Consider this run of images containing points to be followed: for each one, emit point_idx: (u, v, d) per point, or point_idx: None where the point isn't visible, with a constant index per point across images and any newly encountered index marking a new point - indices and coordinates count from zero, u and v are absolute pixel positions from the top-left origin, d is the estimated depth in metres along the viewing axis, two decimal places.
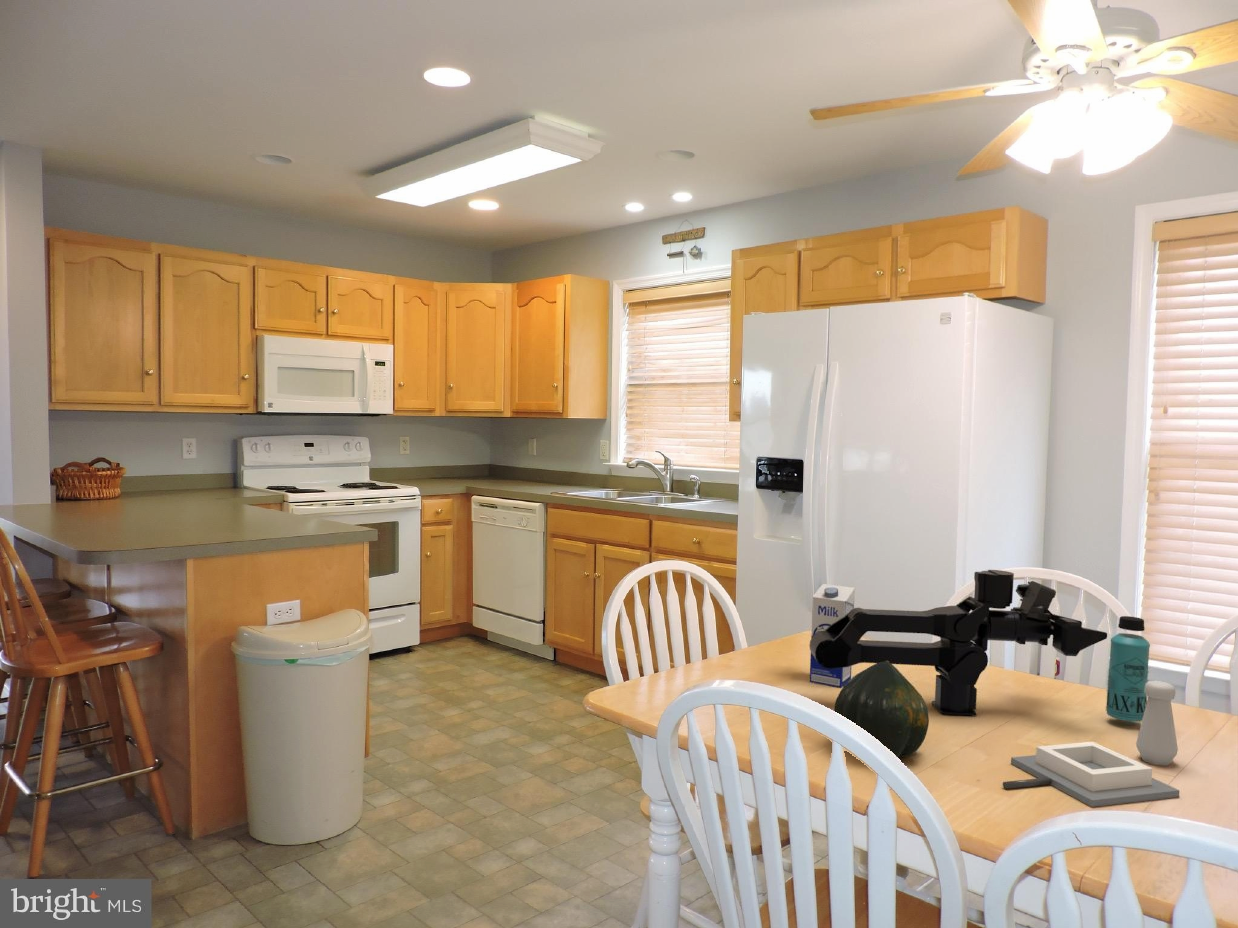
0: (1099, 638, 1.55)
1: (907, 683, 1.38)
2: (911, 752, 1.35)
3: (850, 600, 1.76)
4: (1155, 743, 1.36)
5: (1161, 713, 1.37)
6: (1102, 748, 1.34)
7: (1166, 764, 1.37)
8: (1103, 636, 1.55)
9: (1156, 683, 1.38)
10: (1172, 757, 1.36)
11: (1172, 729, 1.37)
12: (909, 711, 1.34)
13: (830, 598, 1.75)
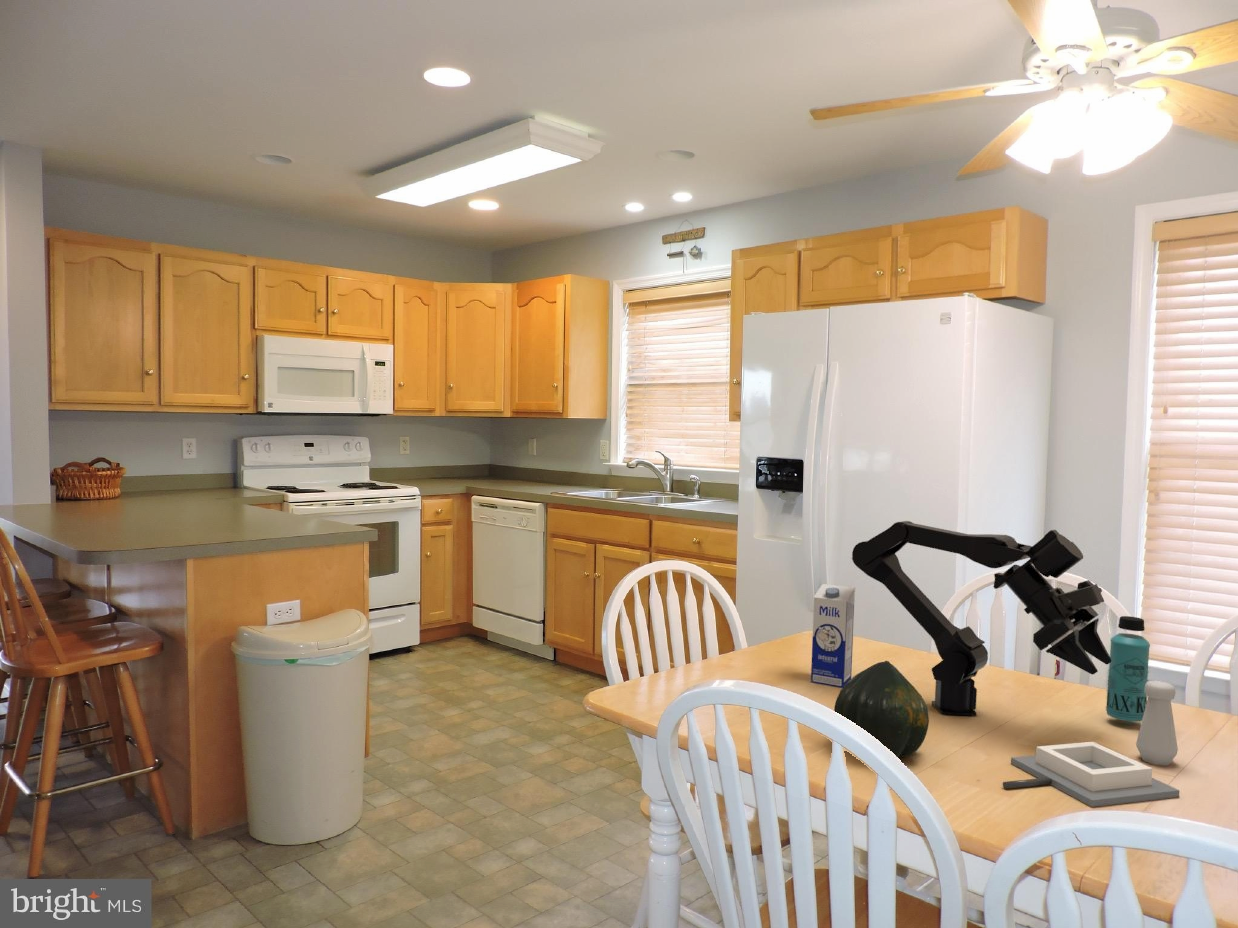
0: (1084, 667, 1.41)
1: (907, 683, 1.38)
2: (911, 752, 1.35)
3: (851, 600, 1.76)
4: (1155, 743, 1.36)
5: (1161, 713, 1.37)
6: (1102, 748, 1.34)
7: (1166, 764, 1.37)
8: (1090, 669, 1.41)
9: (1156, 683, 1.38)
10: (1172, 757, 1.36)
11: (1172, 729, 1.37)
12: (909, 711, 1.34)
13: (831, 598, 1.75)
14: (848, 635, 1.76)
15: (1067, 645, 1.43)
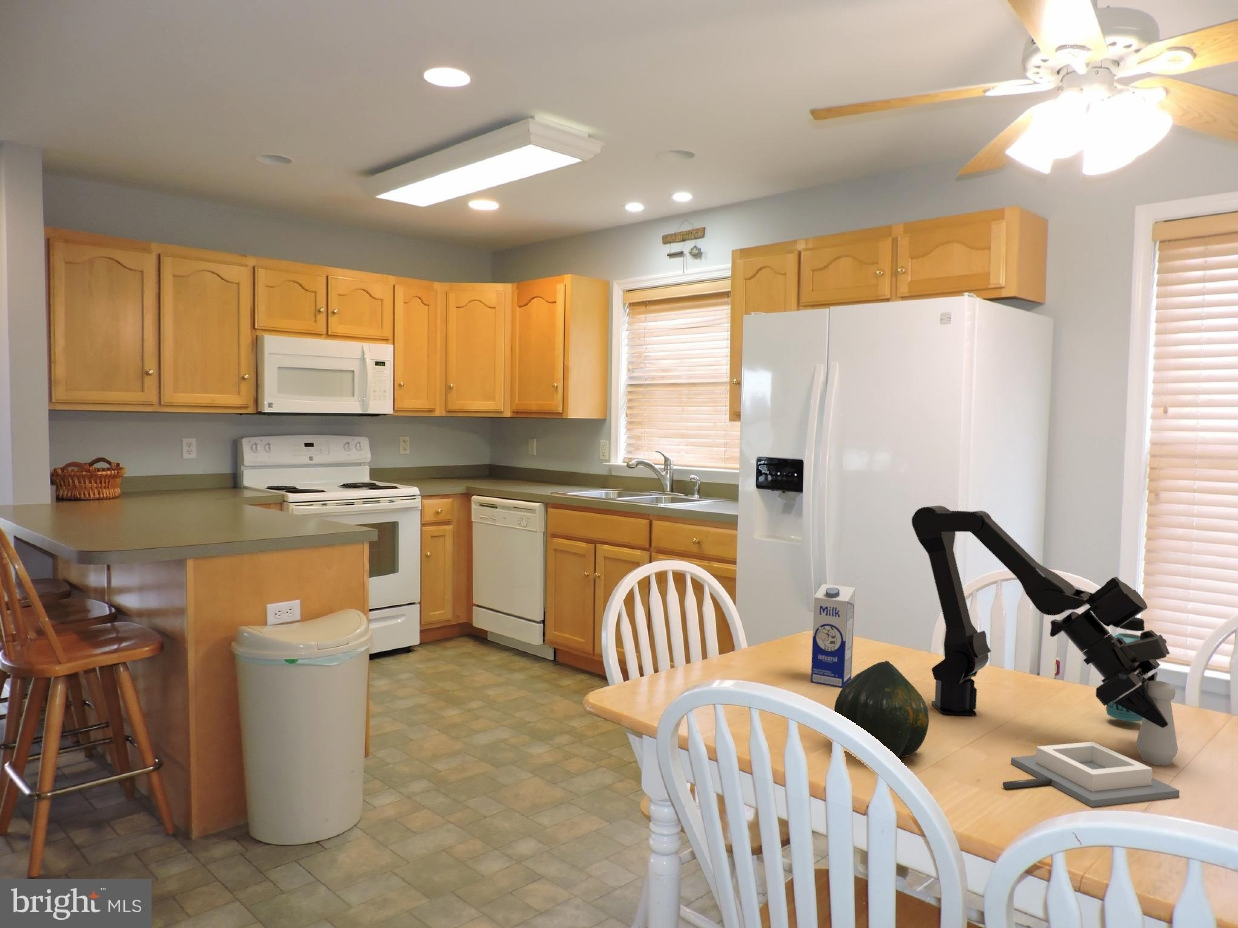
0: (1154, 719, 1.37)
1: (907, 683, 1.38)
2: (911, 752, 1.35)
3: (851, 600, 1.76)
4: (1155, 743, 1.36)
5: None
6: (1102, 748, 1.34)
7: (1166, 764, 1.37)
8: (1160, 722, 1.36)
9: (1156, 683, 1.38)
10: (1172, 757, 1.36)
11: (1172, 729, 1.37)
12: (909, 711, 1.34)
13: (831, 598, 1.75)
14: (848, 635, 1.76)
15: (1136, 697, 1.38)
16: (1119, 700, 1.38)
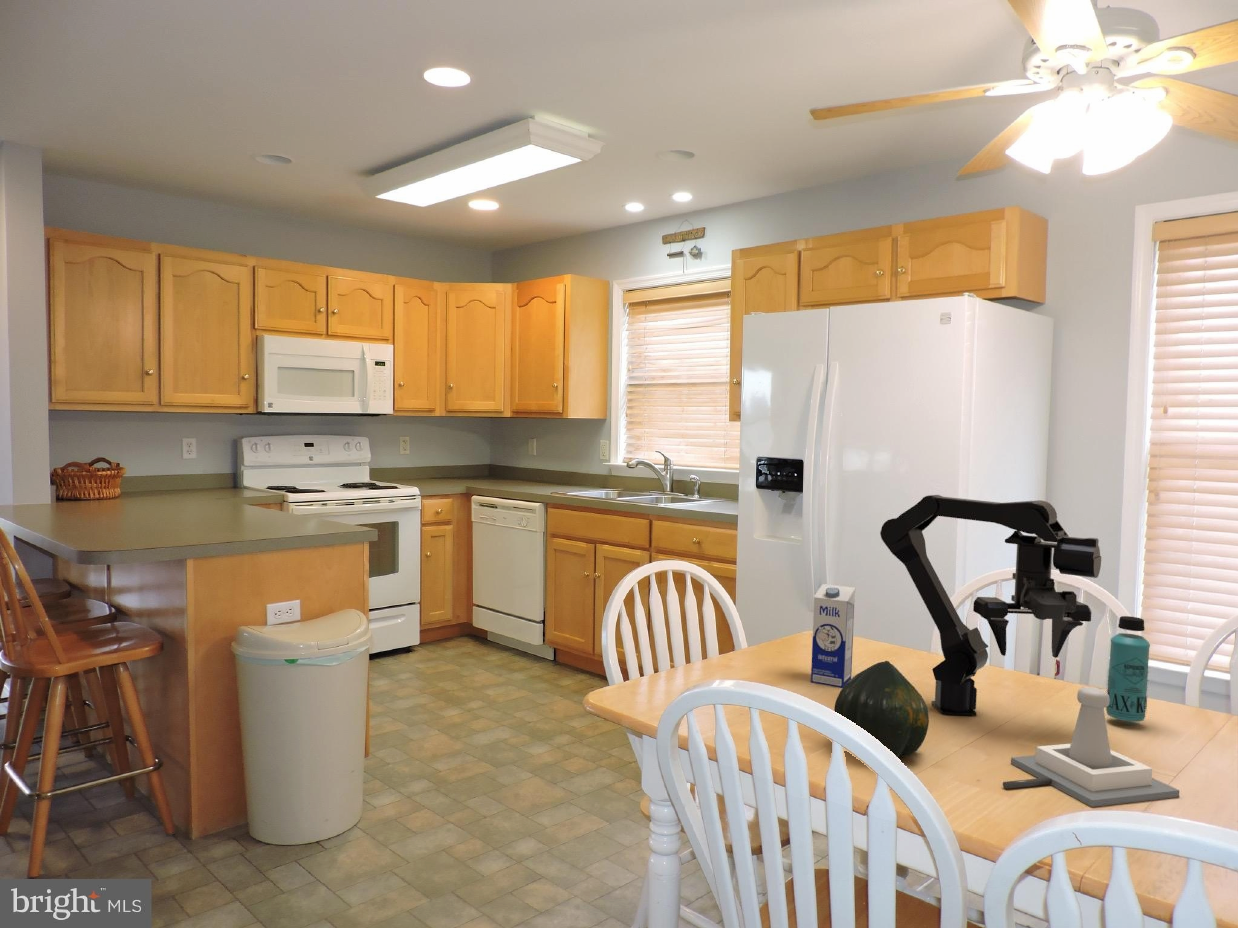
0: (998, 645, 1.53)
1: (907, 683, 1.38)
2: (911, 752, 1.35)
3: (851, 600, 1.76)
4: (1077, 750, 1.29)
5: (1087, 721, 1.29)
6: None
7: None
8: (1000, 650, 1.53)
9: (1087, 689, 1.30)
10: None
11: (1099, 739, 1.28)
12: (909, 711, 1.34)
13: (831, 598, 1.75)
14: (848, 635, 1.76)
15: None
16: (981, 615, 1.54)
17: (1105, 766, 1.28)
